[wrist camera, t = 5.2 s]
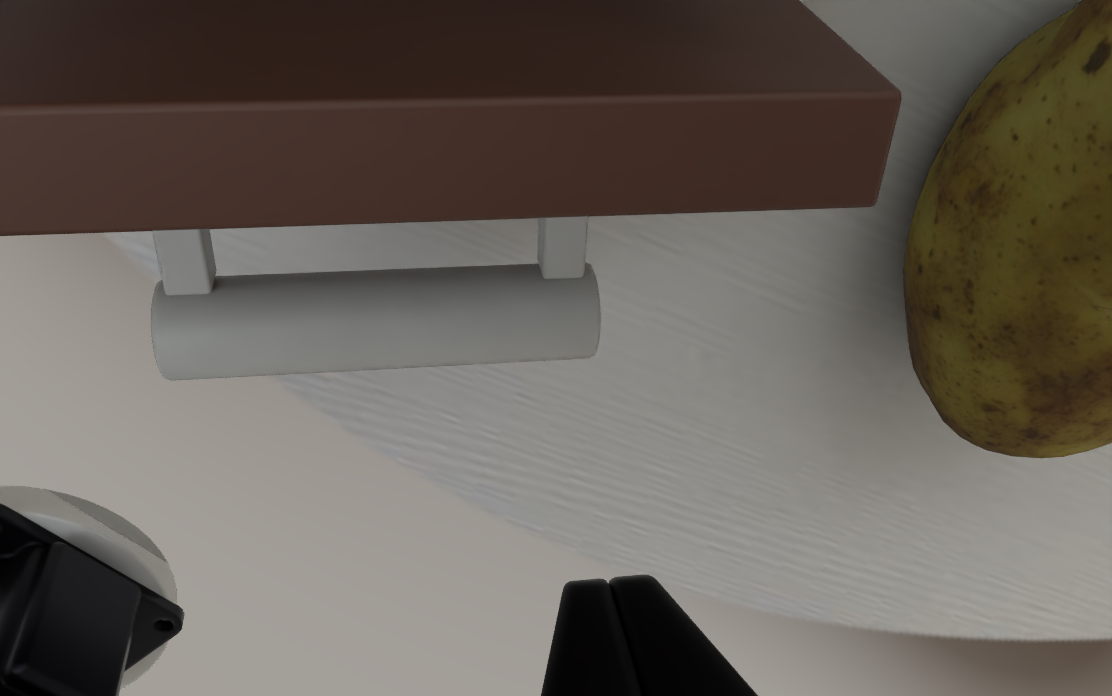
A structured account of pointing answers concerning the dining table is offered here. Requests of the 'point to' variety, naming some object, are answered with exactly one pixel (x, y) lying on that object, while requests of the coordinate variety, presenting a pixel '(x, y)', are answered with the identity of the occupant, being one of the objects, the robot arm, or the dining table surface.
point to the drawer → (415, 152)
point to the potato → (1022, 250)
